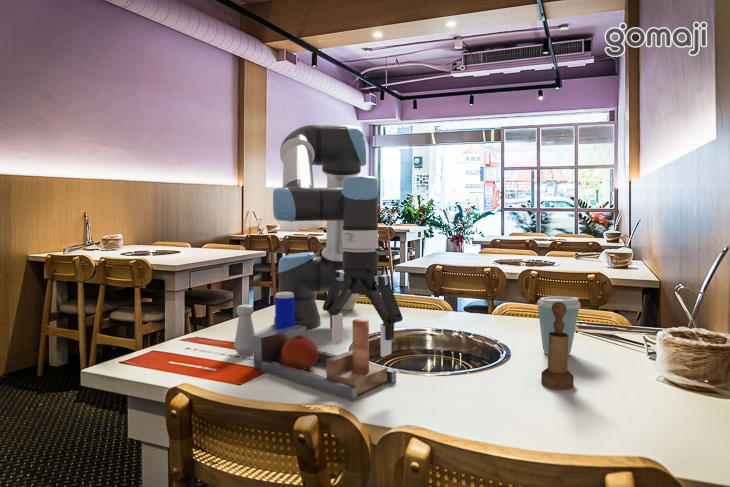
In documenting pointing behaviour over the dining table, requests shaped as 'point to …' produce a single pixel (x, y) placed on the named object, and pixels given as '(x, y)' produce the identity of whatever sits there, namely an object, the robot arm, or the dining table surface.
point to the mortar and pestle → (558, 354)
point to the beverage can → (284, 310)
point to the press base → (271, 362)
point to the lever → (357, 362)
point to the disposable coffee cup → (549, 318)
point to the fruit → (299, 352)
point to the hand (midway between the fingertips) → (360, 349)
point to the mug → (351, 301)
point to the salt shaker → (244, 331)
